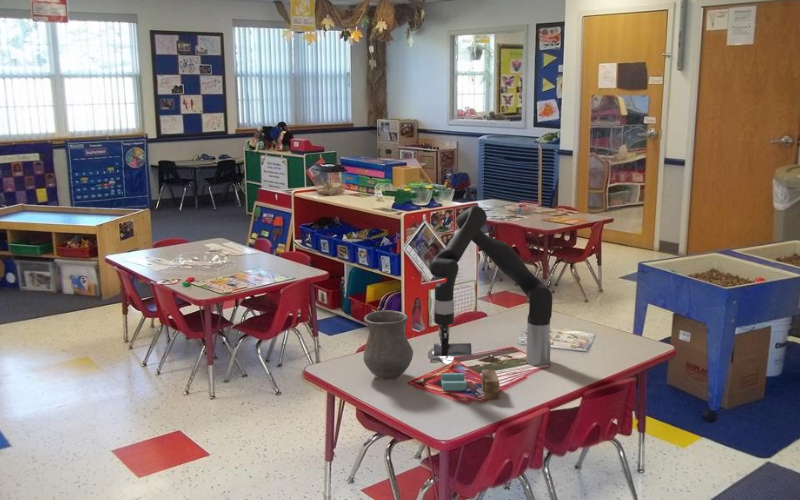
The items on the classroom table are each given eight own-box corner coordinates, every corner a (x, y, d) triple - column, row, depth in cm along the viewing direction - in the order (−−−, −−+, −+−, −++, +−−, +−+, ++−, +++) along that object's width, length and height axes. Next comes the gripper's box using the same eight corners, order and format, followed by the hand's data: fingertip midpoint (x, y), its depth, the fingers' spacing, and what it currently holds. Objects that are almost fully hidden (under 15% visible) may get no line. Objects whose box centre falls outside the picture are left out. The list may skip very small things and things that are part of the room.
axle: (470, 353, 298) (470, 341, 297) (471, 357, 293) (471, 345, 292) (433, 354, 297) (433, 342, 297) (434, 358, 293) (434, 345, 292)
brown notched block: (494, 386, 296) (494, 369, 295) (498, 399, 285) (499, 381, 283) (481, 386, 296) (481, 369, 295) (485, 399, 285) (485, 381, 283)
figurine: (441, 345, 331) (459, 347, 321) (442, 359, 331) (460, 362, 322) (424, 348, 325) (442, 350, 316) (425, 363, 326) (443, 366, 316)
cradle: (463, 380, 303) (464, 373, 302) (466, 390, 293) (466, 382, 293) (441, 380, 303) (441, 373, 302) (442, 390, 293) (442, 383, 293)
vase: (402, 388, 295) (402, 326, 290) (356, 382, 302) (355, 321, 296) (419, 370, 313) (419, 311, 308) (375, 365, 320) (374, 307, 315)
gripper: (432, 305, 298) (432, 347, 302) (435, 316, 284) (435, 360, 288) (452, 305, 298) (452, 347, 302) (455, 316, 284) (455, 359, 288)
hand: (443, 353), depth 295 cm, fingers closed on axle, 4 cm apart
